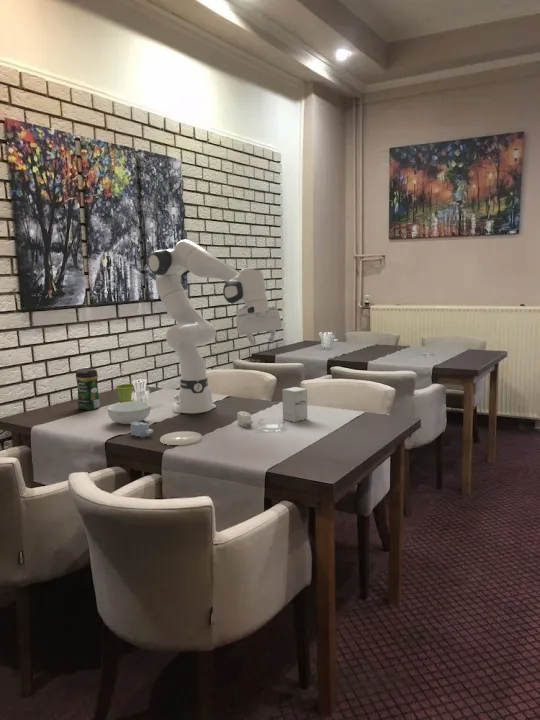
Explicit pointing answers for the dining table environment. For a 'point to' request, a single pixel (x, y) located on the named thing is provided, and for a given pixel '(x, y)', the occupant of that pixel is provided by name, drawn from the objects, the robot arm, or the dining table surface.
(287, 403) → the supplement box
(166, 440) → the saucer
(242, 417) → the grey connector
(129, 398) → the plant pot
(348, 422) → the dining table surface
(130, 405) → the cereal bowl
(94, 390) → the coffee jar
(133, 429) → the blue connector
